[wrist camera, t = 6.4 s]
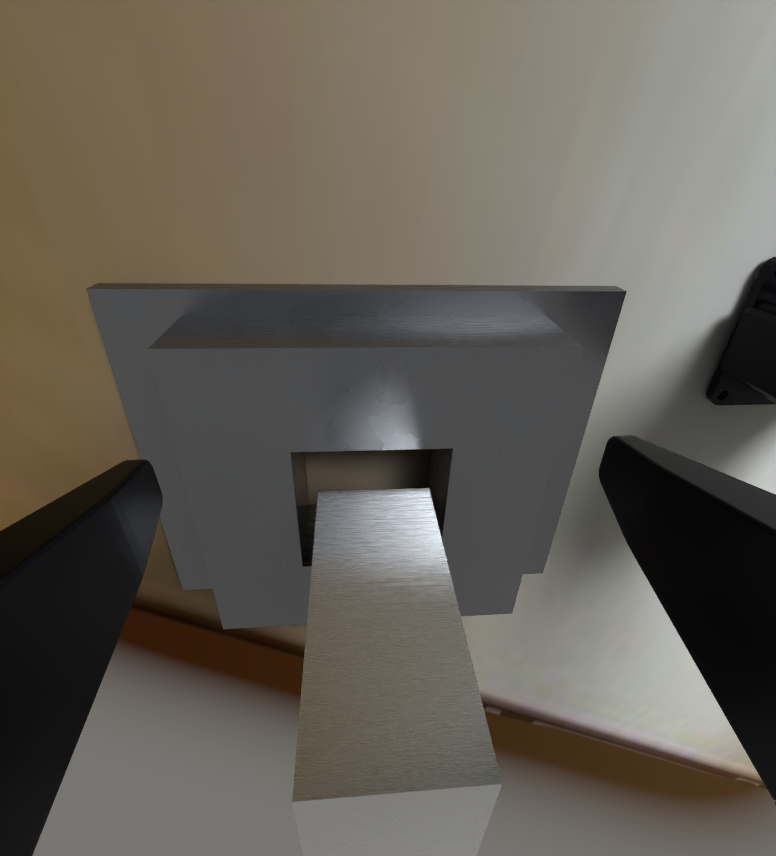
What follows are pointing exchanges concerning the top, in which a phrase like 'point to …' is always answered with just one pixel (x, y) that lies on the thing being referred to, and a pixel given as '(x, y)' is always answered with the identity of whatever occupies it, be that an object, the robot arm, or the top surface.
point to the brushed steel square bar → (388, 689)
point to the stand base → (354, 419)
